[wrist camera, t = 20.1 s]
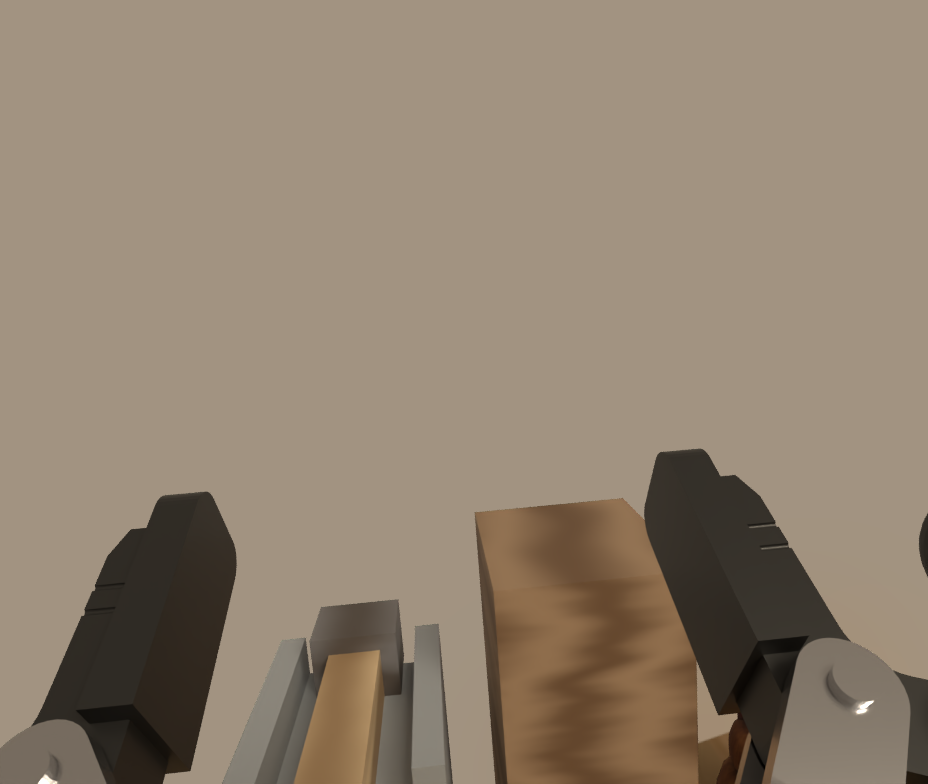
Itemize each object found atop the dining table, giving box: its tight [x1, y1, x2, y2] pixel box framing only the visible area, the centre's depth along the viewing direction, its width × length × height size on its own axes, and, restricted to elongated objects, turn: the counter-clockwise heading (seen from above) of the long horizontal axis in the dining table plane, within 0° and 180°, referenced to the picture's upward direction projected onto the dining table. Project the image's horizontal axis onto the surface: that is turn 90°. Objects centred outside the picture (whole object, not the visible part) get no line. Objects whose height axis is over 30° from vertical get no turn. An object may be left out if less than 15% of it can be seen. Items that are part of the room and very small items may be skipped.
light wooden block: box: [294, 600, 404, 784], centre depth 30 cm, size 5×20×4 cm, turn 4°
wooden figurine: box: [717, 713, 749, 784], centre depth 45 cm, size 7×6×15 cm
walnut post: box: [475, 498, 699, 784], centre depth 37 cm, size 10×11×30 cm
